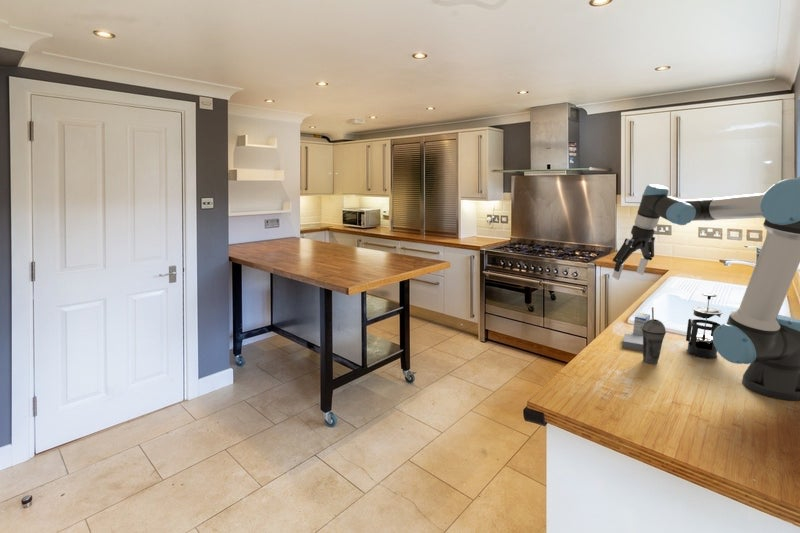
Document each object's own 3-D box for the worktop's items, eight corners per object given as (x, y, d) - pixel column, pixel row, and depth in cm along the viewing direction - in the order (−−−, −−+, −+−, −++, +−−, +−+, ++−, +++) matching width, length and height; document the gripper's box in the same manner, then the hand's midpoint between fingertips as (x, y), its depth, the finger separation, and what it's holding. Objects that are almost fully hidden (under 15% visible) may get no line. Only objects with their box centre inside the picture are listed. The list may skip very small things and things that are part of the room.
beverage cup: (665, 366, 149) (672, 311, 145) (642, 364, 151) (648, 310, 147) (657, 358, 156) (663, 305, 152) (635, 356, 158) (641, 304, 154)
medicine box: (636, 331, 184) (638, 312, 183) (648, 333, 182) (650, 314, 180) (632, 336, 178) (634, 316, 177) (644, 339, 176) (646, 318, 174)
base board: (655, 354, 161) (656, 346, 161) (622, 348, 167) (623, 341, 166) (655, 345, 170) (656, 338, 169) (624, 340, 175) (624, 333, 175)
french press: (725, 358, 156) (734, 296, 152) (704, 360, 154) (713, 298, 150) (696, 346, 167) (704, 289, 163) (676, 348, 165) (683, 290, 161)
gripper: (658, 219, 170) (641, 267, 179) (612, 225, 160) (597, 275, 169) (675, 226, 164) (657, 275, 173) (629, 233, 154) (612, 284, 163)
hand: (627, 275), depth 171 cm, fingers open, 13 cm apart
